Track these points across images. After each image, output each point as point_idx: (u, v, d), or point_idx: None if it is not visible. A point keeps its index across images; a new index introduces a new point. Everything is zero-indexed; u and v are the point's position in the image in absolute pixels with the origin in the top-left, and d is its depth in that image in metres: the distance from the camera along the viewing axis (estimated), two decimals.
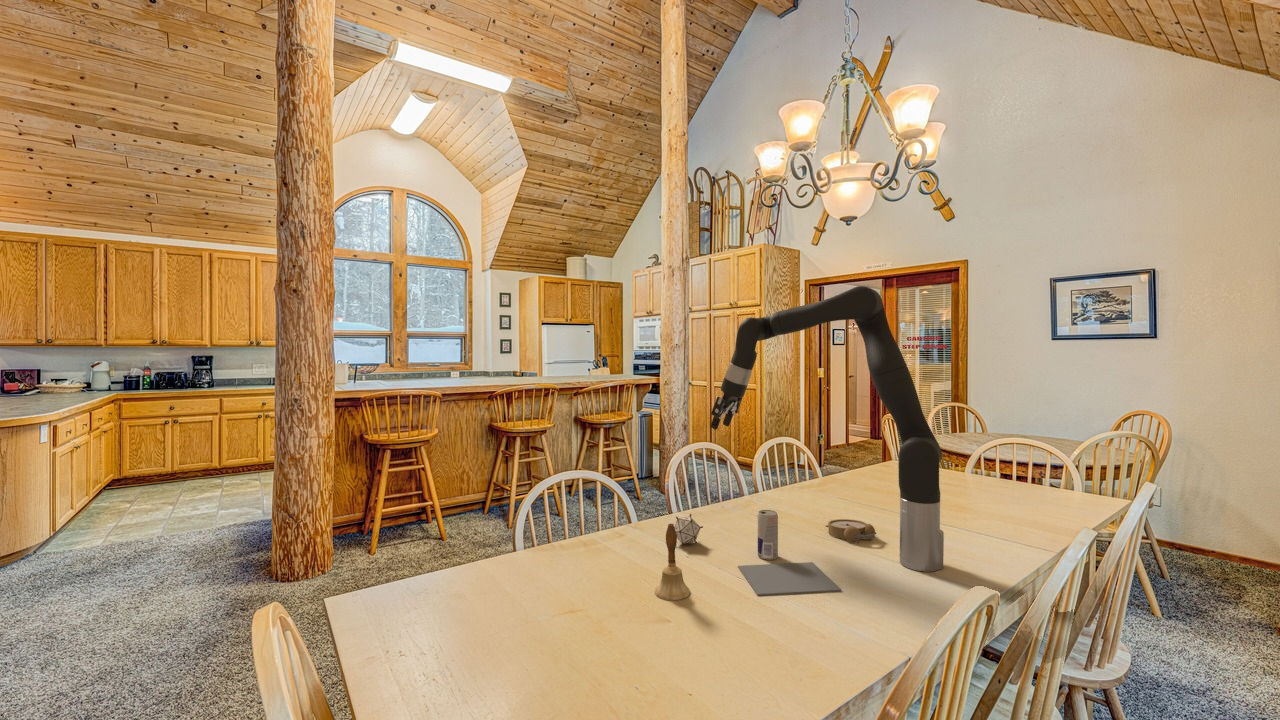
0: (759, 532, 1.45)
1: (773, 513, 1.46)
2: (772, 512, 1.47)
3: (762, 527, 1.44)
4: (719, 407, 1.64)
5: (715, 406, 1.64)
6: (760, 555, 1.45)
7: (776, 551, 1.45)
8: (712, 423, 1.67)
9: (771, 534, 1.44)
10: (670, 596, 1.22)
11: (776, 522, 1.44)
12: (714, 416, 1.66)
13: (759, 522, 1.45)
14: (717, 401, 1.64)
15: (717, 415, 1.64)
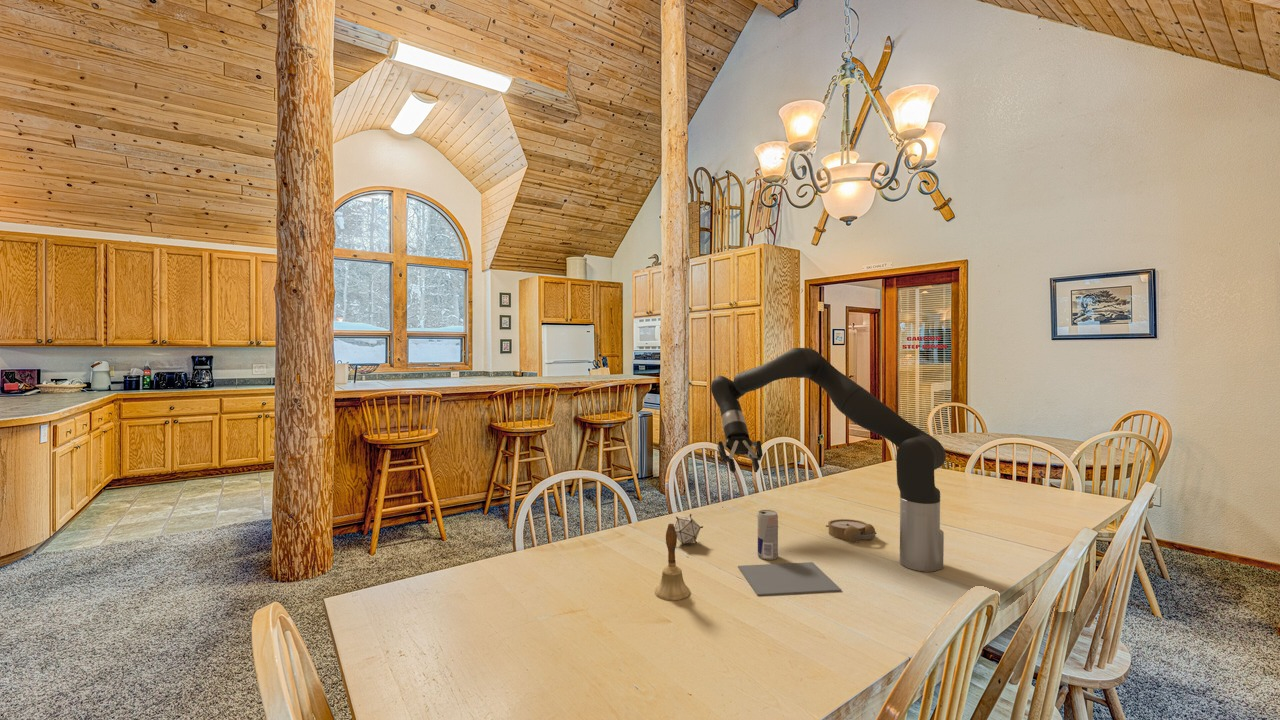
0: (759, 532, 1.45)
1: (773, 513, 1.46)
2: (772, 512, 1.47)
3: (762, 527, 1.44)
4: (720, 449, 1.70)
5: (719, 452, 1.71)
6: (760, 555, 1.45)
7: (776, 551, 1.45)
8: (729, 467, 1.67)
9: (771, 534, 1.44)
10: (670, 596, 1.22)
11: (776, 522, 1.44)
12: (727, 461, 1.69)
13: (759, 522, 1.45)
14: (718, 448, 1.72)
15: (722, 455, 1.68)
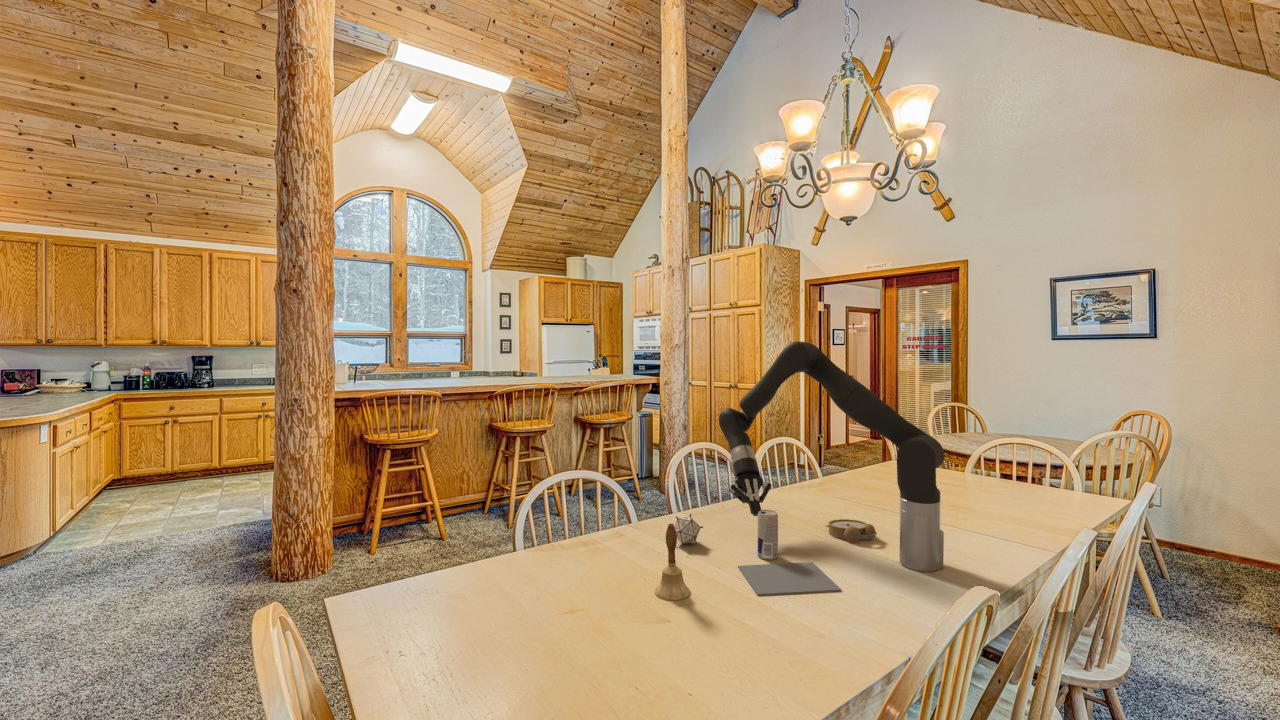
0: (759, 532, 1.45)
1: (773, 513, 1.46)
2: (772, 512, 1.47)
3: (762, 527, 1.44)
4: (736, 493, 1.60)
5: (736, 496, 1.60)
6: (760, 555, 1.45)
7: (776, 551, 1.45)
8: (750, 510, 1.57)
9: (771, 534, 1.44)
10: (670, 596, 1.22)
11: (776, 522, 1.44)
12: None
13: (759, 522, 1.45)
14: (732, 492, 1.61)
15: (743, 498, 1.58)
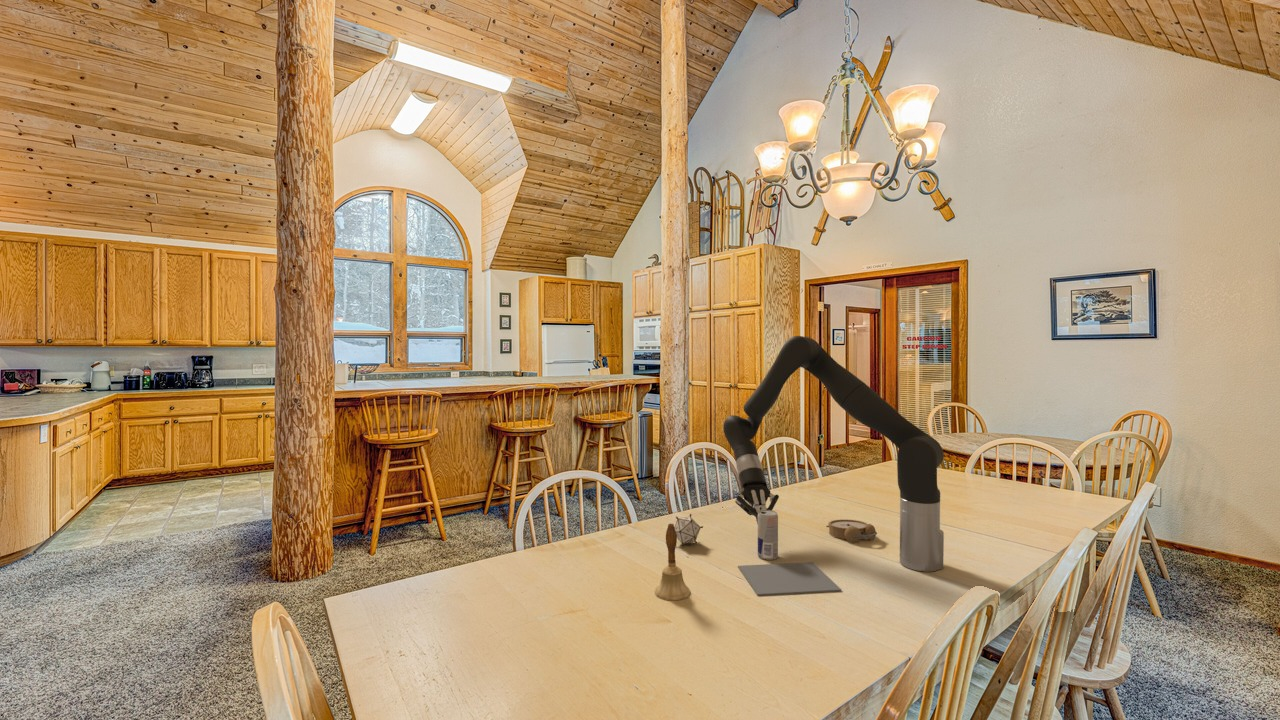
0: (759, 532, 1.45)
1: (773, 513, 1.46)
2: (772, 512, 1.47)
3: (762, 527, 1.44)
4: (743, 505, 1.53)
5: (742, 507, 1.54)
6: (760, 555, 1.45)
7: (776, 551, 1.45)
8: (757, 523, 1.51)
9: (771, 534, 1.44)
10: (670, 596, 1.22)
11: (776, 522, 1.44)
12: (754, 515, 1.52)
13: (759, 522, 1.45)
14: (738, 503, 1.55)
15: (750, 510, 1.52)
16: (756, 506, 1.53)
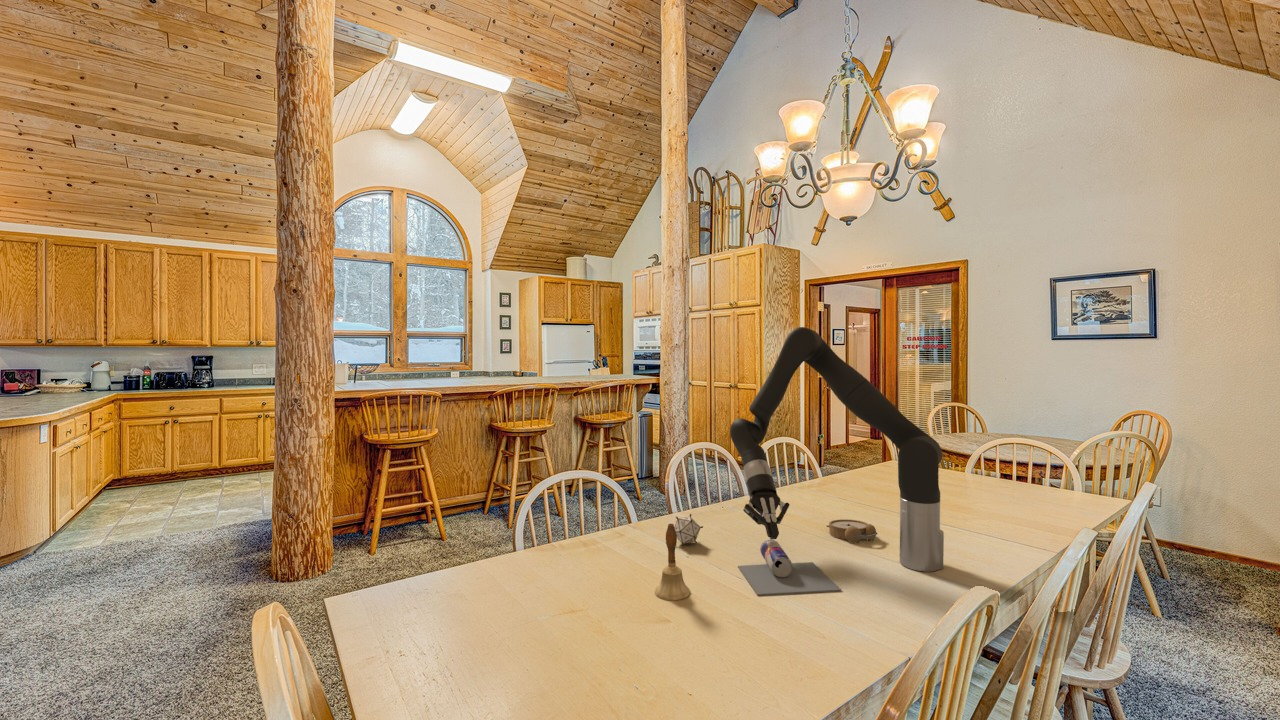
0: (767, 563, 1.37)
1: (788, 567, 1.32)
2: (787, 563, 1.32)
3: None
4: (751, 513, 1.45)
5: (751, 516, 1.46)
6: None
7: None
8: (767, 533, 1.43)
9: None
10: (670, 596, 1.22)
11: None
12: (764, 524, 1.44)
13: (769, 567, 1.34)
14: (746, 512, 1.47)
15: (759, 519, 1.43)
16: (765, 515, 1.44)
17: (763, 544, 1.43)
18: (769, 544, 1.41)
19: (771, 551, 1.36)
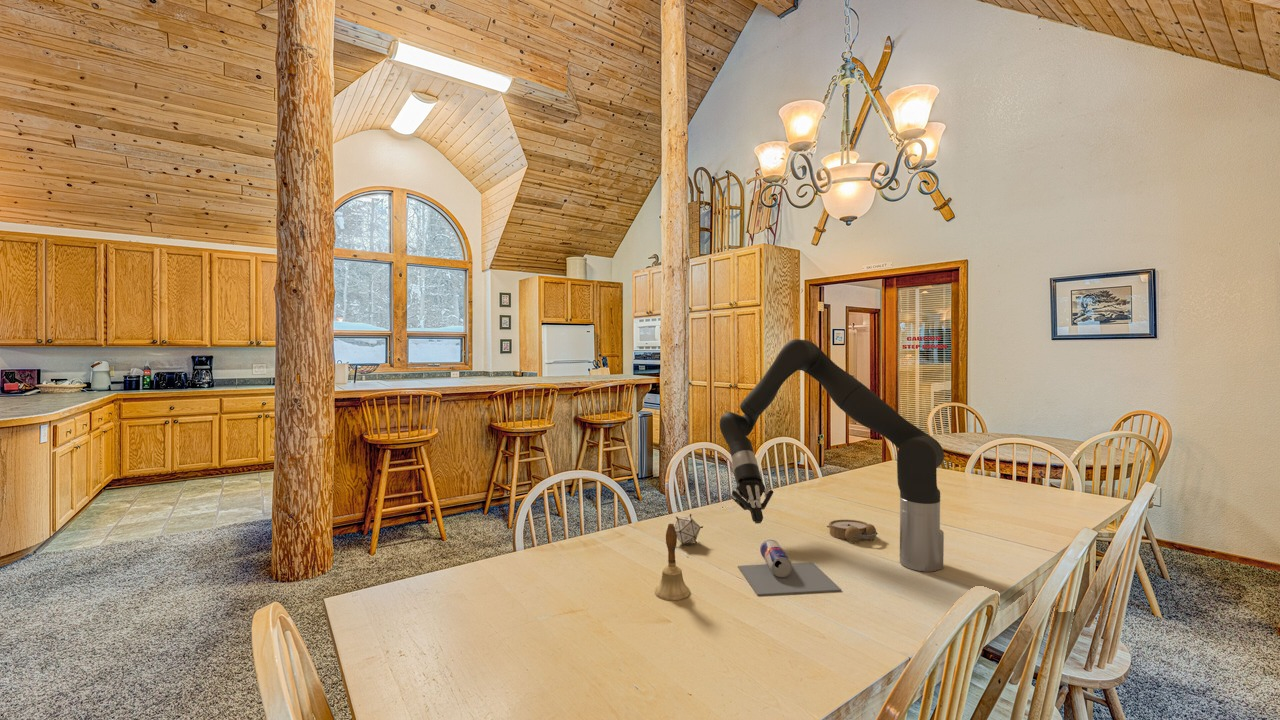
0: None
1: (787, 567, 1.32)
2: (787, 563, 1.32)
3: None
4: (738, 499, 1.57)
5: (738, 502, 1.57)
6: None
7: None
8: (752, 517, 1.54)
9: None
10: (670, 596, 1.22)
11: None
12: (749, 510, 1.56)
13: (769, 567, 1.34)
14: (733, 498, 1.58)
15: (745, 505, 1.55)
16: (751, 501, 1.56)
17: (763, 544, 1.43)
18: (769, 544, 1.41)
19: (770, 551, 1.36)
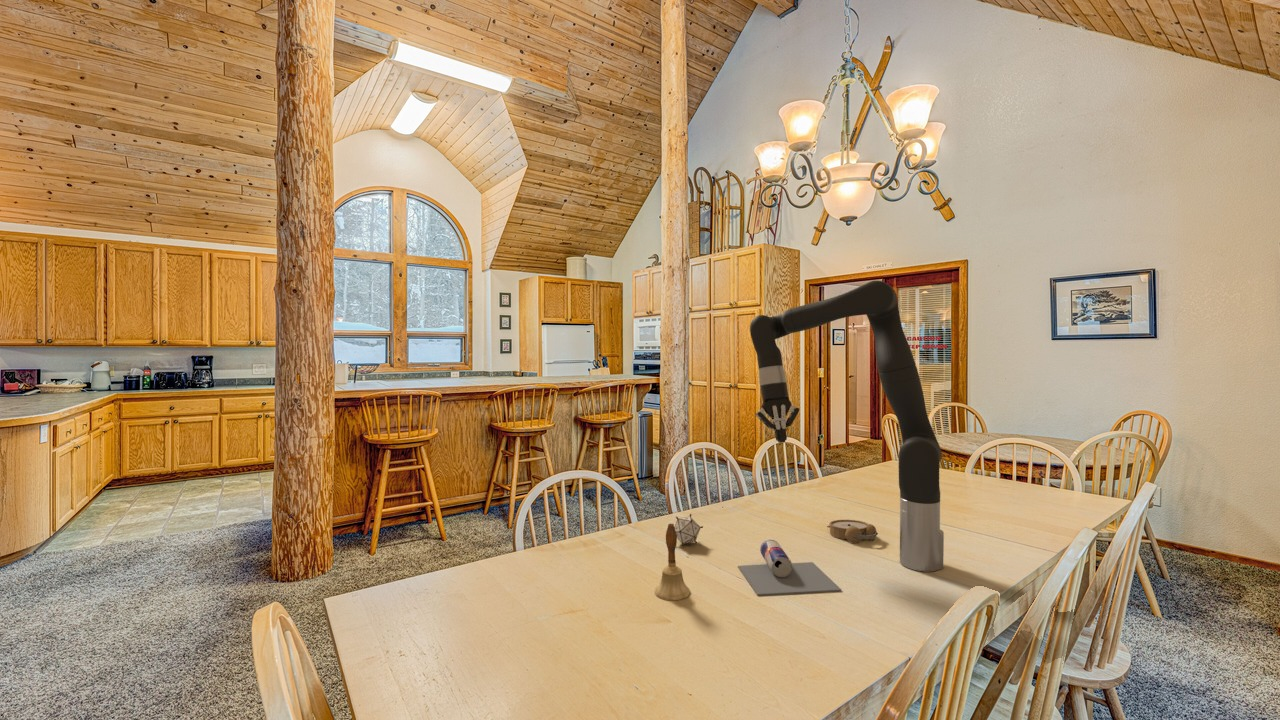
0: (767, 563, 1.37)
1: (788, 567, 1.32)
2: (787, 563, 1.32)
3: None
4: (763, 420, 1.56)
5: (762, 421, 1.57)
6: None
7: None
8: None
9: None
10: (670, 596, 1.22)
11: None
12: None
13: (769, 567, 1.34)
14: (758, 417, 1.57)
15: (769, 427, 1.55)
16: (776, 422, 1.55)
17: (763, 544, 1.43)
18: (769, 544, 1.41)
19: (770, 551, 1.36)
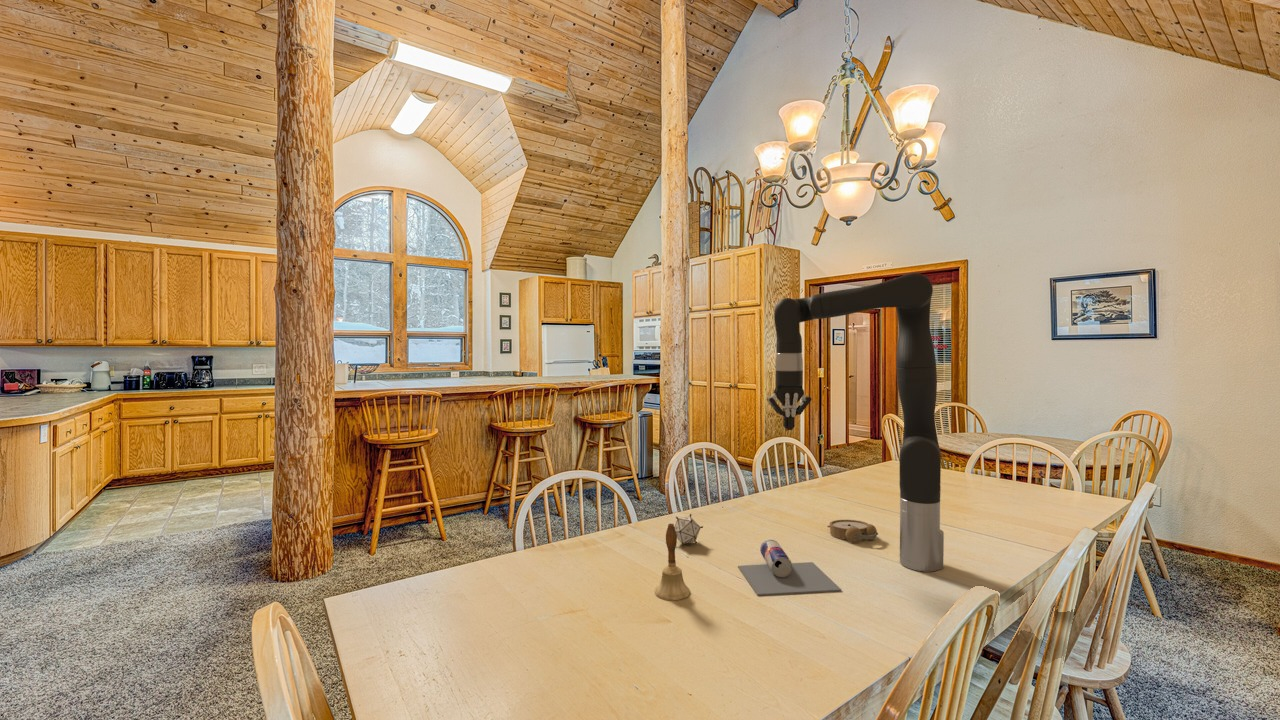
0: (767, 563, 1.37)
1: (788, 567, 1.32)
2: (787, 563, 1.32)
3: None
4: (773, 406, 1.53)
5: (772, 406, 1.55)
6: None
7: None
8: (783, 423, 1.55)
9: None
10: (670, 596, 1.22)
11: None
12: (782, 415, 1.55)
13: (769, 567, 1.34)
14: (769, 402, 1.54)
15: (779, 413, 1.53)
16: (786, 410, 1.53)
17: (763, 544, 1.43)
18: (769, 544, 1.41)
19: (770, 551, 1.36)
